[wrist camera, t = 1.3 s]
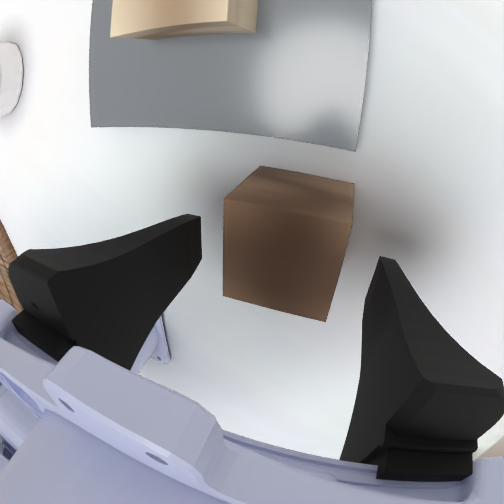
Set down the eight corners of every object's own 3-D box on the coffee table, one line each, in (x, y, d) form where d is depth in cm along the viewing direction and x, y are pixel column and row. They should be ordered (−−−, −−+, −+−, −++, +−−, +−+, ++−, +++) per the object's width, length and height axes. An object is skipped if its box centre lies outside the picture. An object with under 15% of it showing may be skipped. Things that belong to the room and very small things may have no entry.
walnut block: (254, 245, 17) (222, 295, 13) (260, 165, 14) (224, 198, 11) (336, 263, 16) (325, 322, 12) (354, 183, 13) (352, 224, 10)
